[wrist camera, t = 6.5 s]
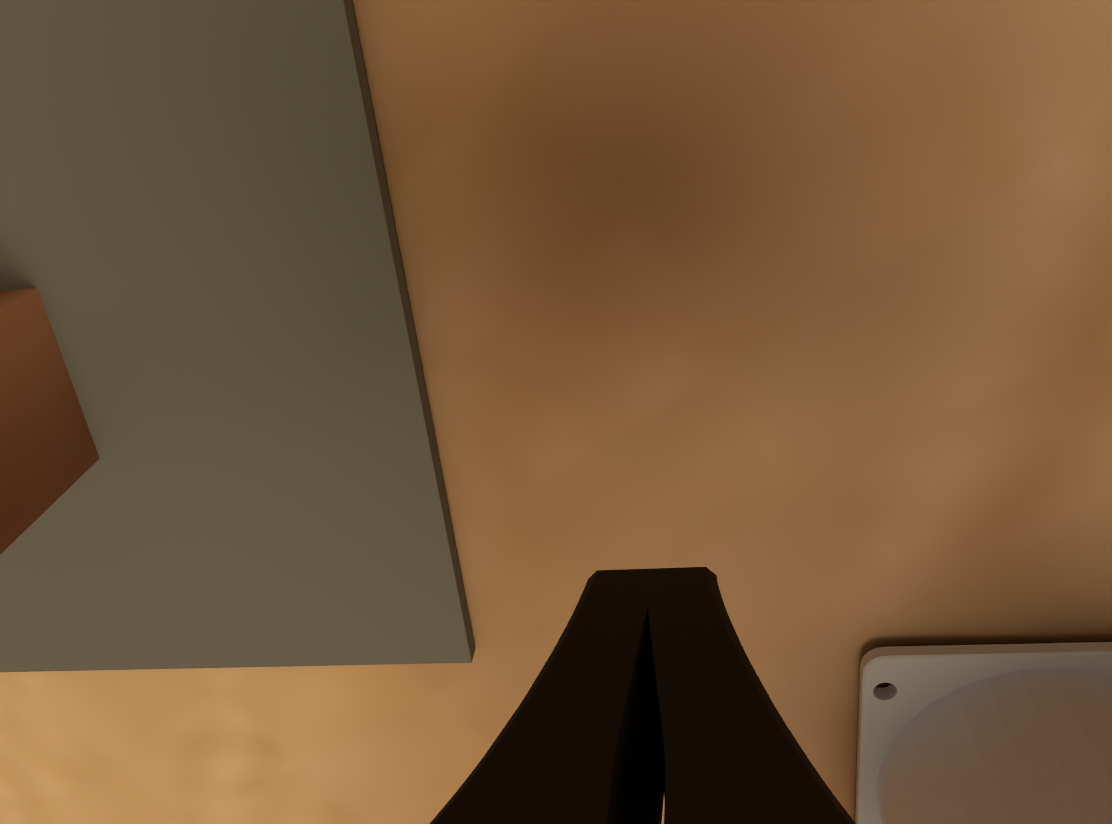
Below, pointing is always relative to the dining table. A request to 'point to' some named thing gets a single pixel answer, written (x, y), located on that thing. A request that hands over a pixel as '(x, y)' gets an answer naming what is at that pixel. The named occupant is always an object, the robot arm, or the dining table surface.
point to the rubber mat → (219, 346)
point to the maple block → (35, 416)
